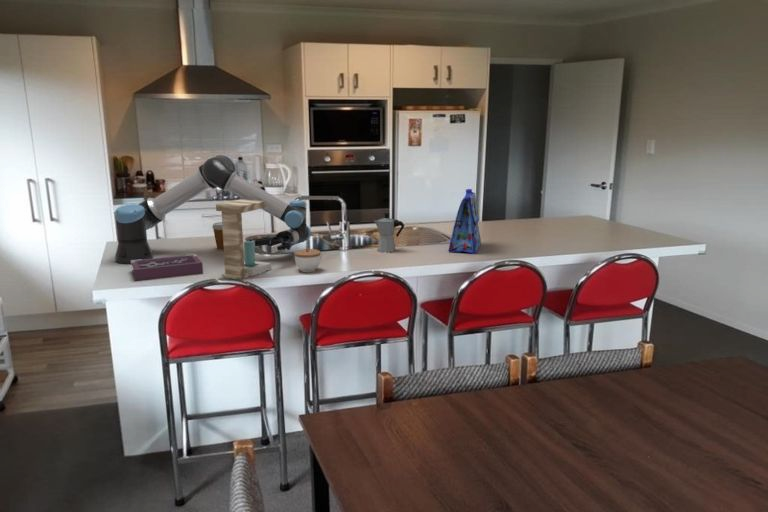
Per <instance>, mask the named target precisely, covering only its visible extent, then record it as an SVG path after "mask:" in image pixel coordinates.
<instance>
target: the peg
mask: <svg viewBox="0 0 768 512" xmlns="http://www.w3.org/2000/svg"><path fill="white" fill-rule="evenodd" d="M255 247H256V246H255ZM255 247H254V241H249V240H247V241H243V251H244V261H245V266H246V267H254V266H255V261H256V251H255Z"/></svg>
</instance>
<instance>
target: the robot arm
mask: <svg viewBox="0 0 768 512" xmlns="http://www.w3.org/2000/svg"><path fill="white" fill-rule="evenodd" d="M217 188H219V189H220V190H222V191H224V192H226V191H229V192H231V193H232V194H234V195H235V196H237V197H239V198H240V199H244V200H257V201H266V207H265V208H261V209H260V210H262V211H264V212H266V213H268V214H269V215H271V216H273V217H275V218H277V219H278V220H280V221H282V222H284V223H285V224H286V226H287V227H289V229H285V230H282V231H279V232H278V233H277V234H276V235H275V236H272V237H271V236H266V237H265V236H264V237H260V238H253V239H251V238H250V239H249V240H248V241H254V247H262V246H268V247H270V250H271V254H274V253H278V252H281V251H285V250H288V251H289V250H291V248H292V246H295V245H299V244H300V243H304V242H307V241H308V240H309V239H310V238H311V235H312V231H311V229H310V227H309V226H308V225H307V204H306V202H305V200H302V199H301V200H299V199H297V200H291V201H290V202H289V203H286V202H285V201H283V200H282V199H280V198H278V197H276V196H275V195H273V194H271V193H269V192H267V191H266V190H264V189H263V188H260V187H258V186H257V185H255V184H253V183H252V182H250V181H249V180H247V179H245V178H243V177H242V176H240V175H238V174H237V168H236V164H235V162H234V160H233V159H232V158H230V157H229V156H227V155H223V154H220V155H215V156H213V157H210V158H207V160H206V161H204V162H203V164H201V165H199V166H198V169H197V171H196V172H194V174H191V175H190V176H188V177H187V178H185V179H183V180H181V182H178V183H176V185H174V186H173V187H171V188H169V189H168V190H166V191H164V192H163V193H161V194H160V195H158V196H156V197H154V198H152V197H148V198H147V199H145V200H143V201H142V202H140V203H138V204H126V205H121V206H119V207H117V208H116V209H115V212H114V214H115V215H114V218H115V225H116V236H117V248H116V252H115V257H114V258H115V263H117V264H124V265H125V264H127V265H128V264H131V260H139V259H153V258H154V253H153V251H152V249H151V247H150V244H149V242H148V237H147V236H148V235H147V234H148V233H147V230H149V229H152V228H154V227H156V225H158V224H159V223H161V222H162V221H164V220H165V219H166V215H167V214H169V213H171V212H173V211H174V210H175V209H177V208H179V207H180V206H182V205H184V204H185V203H187V202H188V201H190V200H191V199H194V198H195V197H197V196H198V195H200V194H201V193H203V192H205V191H206V190H208V189H211V190H214V189H217Z"/></svg>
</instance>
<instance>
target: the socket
mask: <svg viewBox="0 0 768 512" xmlns="http://www.w3.org/2000/svg"><path fill="white" fill-rule="evenodd" d="M269 269H270V270H272V262H264V261H256V260H255V266H254V267H246V266H245V260H244V270H245V273H247V274H248V276H249V275H253V276H252V277H255V276H258V275H260V274H263V273H265V272H267V271H266V270H268V271H270V270H269ZM264 271H265V272H264ZM262 272H263V273H262ZM259 273H260V274H259ZM257 274H258V275H257ZM254 275H255V276H254Z"/></svg>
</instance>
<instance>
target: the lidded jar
mask: <svg viewBox="0 0 768 512" xmlns="http://www.w3.org/2000/svg"><path fill="white" fill-rule="evenodd" d="M321 252H322V251H320V250H319V249H314V248H309V247H306V248H305V249H304V248H303V249H297V250H295V251H294V253H293V255H294V263H295V265H296V267H297V268H298V269H299V270H300V271H301V272H304V273H312V272H315V271H316V270H317V268H318V267H319V266H320V263H321V254H322V253H321Z"/></svg>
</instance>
